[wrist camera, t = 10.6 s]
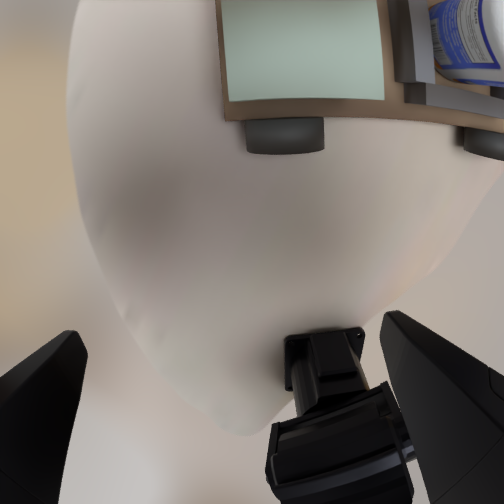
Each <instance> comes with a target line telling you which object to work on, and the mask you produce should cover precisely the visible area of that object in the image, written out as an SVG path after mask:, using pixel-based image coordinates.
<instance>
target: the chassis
mask: <svg viewBox="0 0 504 504" xmlns="http://www.w3.org/2000/svg"><path fill="white" fill-rule="evenodd" d="M443 1H446V0H215V4H216V17H217V30H218V43H219V55H220V68H221V80H222V91H223V103H224V114H225V121H236V120H244V121H245V134H246V146H247V151H248V152H250V153H255V154H268V155H284V154H302V153H311V152H317V151H321V150H323V149H324V118H323V117H368V118H388V119H402V120H414V121H425V122H434V123H442V124H450V125H458V126H465V133H464V150H466V151H468V152H470V153H473V154H477V155H480V156H484V157H488V158H492V159H496V160H501V161H504V87H497V86H487V85H473V84H462V83H457V82H454V81H451V80H449V79H447V78H446V77H444V76H443V75H442V74H441V73H439V72H438V71H437V70H436V69H435V67H434V54H433V43H432V34H431V25H430V18H429V11H428V8H429V7H431V6H433V5H435V4H437V3H440V2H443Z"/></svg>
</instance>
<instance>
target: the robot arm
mask: <svg viewBox="0 0 504 504" xmlns="http://www.w3.org/2000/svg"><path fill="white" fill-rule="evenodd" d="M358 334H360V335H358ZM364 339H365V332H364V330H363V329H362V328H356V329H349V330H341V331H333V332H325V333H316V334H307V335H297V336H289V337H287V338H286V339H285V340H284V364H285V390H286V391H293V392H294V399H295V405H296V412H297V417H296V418H293V419H290V420H287V421H284V422H277V423H273V424H272V428H271V433H270V439H269V447H268V453H267V460H266V467H265V474H266V481H267V483H268V484H269V485H270V487H271V490H272V492H273V493H274V495H275V496H276V498H278V500H280V502H281V504H412V498H413V495H414V488H413V484H412V481H411V478H410V474H409V471H408V468H407V465H406V463H407V462H410V461H412V460H415V459H417V460H418V463H419V467H420V470H421V473H422V477H423V480H424V483H425V487H426V490H427V494H428V498H429V501H430V504H504V376H503V375H501V374H499V373H498V372H497V371H495V370H493V369H492V368H490V367H489V368H488V366H487V365H486V364H484V363H483V362H481V361H479V360H478V359H476V358H475V357H473V356H472V355H470V354H468V353H467V352H465V351H464V350H462V349H461V348H459V347H457V346H456V345H454V344H453V343H451V342H449V341H448V340H446V339H445V338H443V337H441V336H440V335H438V334H437V333H435V332H433V331H432V330H430V329H429V328H427V327H425V326H424V325H422V324H420V323H419V322H417V321H416V320H414V319H412V318H411V317H409V316H407V315H406V314H404V313H402V312H401V311H398V310H396V311H389V312H386V313H385V314H384V317H383V321H382V326H381V331H380V343H381V347H382V350H383V354H384V358H385V362H386V365H387V369H388V373H389V377H390V381H391V385H392V387H393V391H394V393H395V396H396V399H397V401H398V404H399V406H398V404H397V402H396V399H395V397H394V395H393V393H392V391H391V388H390V386H389V384H388V382H387V381H385V382H383V383H381V384H380V385H379V386H377V387H375V388H373V389H370V388H369V386H368V383H367V380H366V377H365V375H364V372H363V369H362V367H361V364H360V358H361V354H362V350H363V344H364ZM289 342H293V343H289ZM87 358H88V353H87V350H86V347H85V346H84V343H83V341H82V339H81V337H80V335H79V333H78V332H77V331H74V330H66V331H63V332H62V333H61V334H59V335H58V336H56V337H55V338H54V339H52V340H51V341H49V342H48V343H47V344H45V345H44V346H42V347H41V348H40V349H38V350H37V351H36V352H34V353H33V354H31V355H30V356H28V357H27V358H26V359H24V360H23V361H22V362H20V363H19V364H18V365H16V366H15V367H13V368H12V369H11V370H9V371H8V372H7V373H6V374H4V375H3V376H1V377H0V504H58V501H59V494H60V488H61V482H62V477H63V471H64V466H65V461H66V456H67V451H68V447H69V442H70V438H71V433H72V429H73V425H74V421H75V417H76V413H77V409H78V405H79V401H80V397H81V392H82V385H83V380H84V374H85V368H86V364H87ZM399 407H400V408H399ZM400 410H401V411H400Z"/></svg>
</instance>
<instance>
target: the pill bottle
mask: <svg viewBox="0 0 504 504" xmlns="http://www.w3.org/2000/svg"><path fill="white" fill-rule="evenodd" d="M428 11H429V18H430V25H431V34H432V43H433V54H434V67H435V69H436V70H437V71H438V72H439V73H441V74H442V75H443V76H444V77H446V78H447V79H449V80H451V81H454V82H457V83H462V84H473V85H487V86H497V87H504V0H446V1H443V2H440V3H437V4H435V5H433V6H431V7H429V8H428Z"/></svg>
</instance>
